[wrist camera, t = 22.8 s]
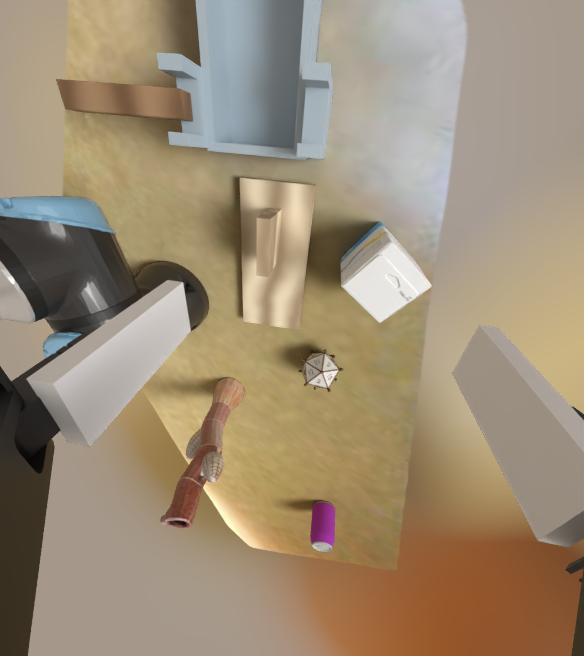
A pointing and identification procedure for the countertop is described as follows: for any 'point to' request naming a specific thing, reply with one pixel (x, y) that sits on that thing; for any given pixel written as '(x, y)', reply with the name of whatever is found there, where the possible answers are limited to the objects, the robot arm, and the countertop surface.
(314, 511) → the beverage can
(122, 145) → the countertop surface
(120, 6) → the countertop surface
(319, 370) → the game die
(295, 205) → the lid
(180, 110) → the cross bar
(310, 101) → the grey box with brackets
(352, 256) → the ink box
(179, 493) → the vase
